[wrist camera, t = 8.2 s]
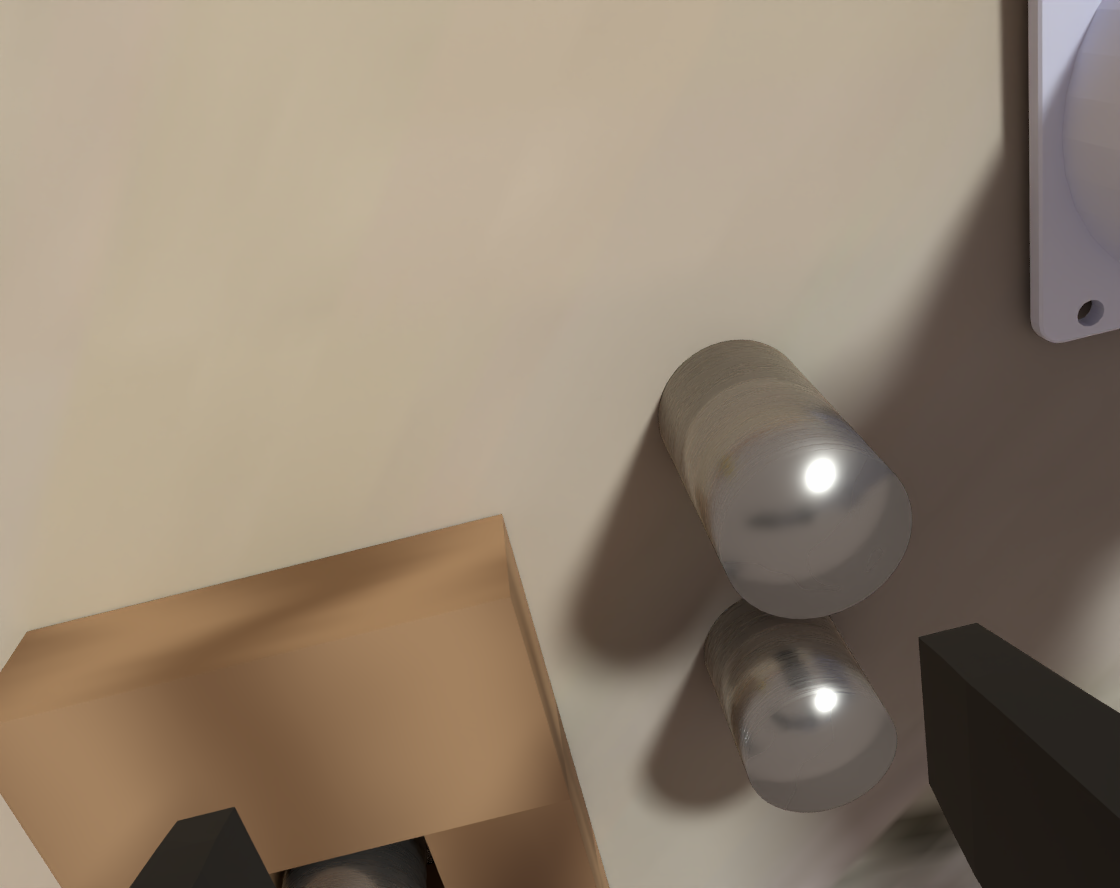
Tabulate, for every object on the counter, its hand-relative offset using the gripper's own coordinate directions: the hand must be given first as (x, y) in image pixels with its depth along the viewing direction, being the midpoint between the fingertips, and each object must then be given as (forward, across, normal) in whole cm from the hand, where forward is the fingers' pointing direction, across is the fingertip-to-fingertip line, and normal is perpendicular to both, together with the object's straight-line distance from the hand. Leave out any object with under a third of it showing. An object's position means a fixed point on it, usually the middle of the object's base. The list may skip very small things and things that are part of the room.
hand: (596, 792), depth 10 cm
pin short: (+10, -4, +7) cm, 13 cm away
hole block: (+10, +6, +9) cm, 15 cm away
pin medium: (+10, -4, +1) cm, 11 cm away
